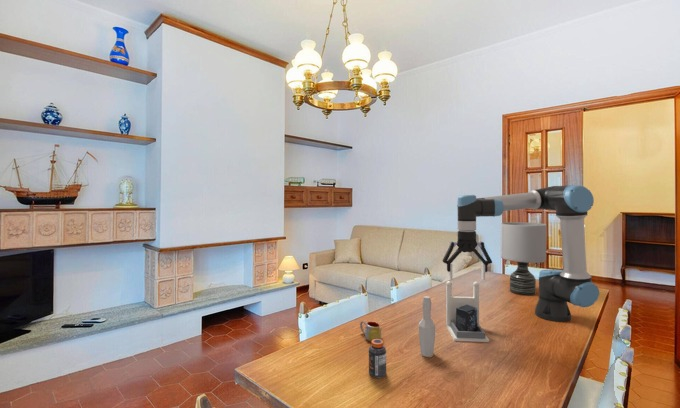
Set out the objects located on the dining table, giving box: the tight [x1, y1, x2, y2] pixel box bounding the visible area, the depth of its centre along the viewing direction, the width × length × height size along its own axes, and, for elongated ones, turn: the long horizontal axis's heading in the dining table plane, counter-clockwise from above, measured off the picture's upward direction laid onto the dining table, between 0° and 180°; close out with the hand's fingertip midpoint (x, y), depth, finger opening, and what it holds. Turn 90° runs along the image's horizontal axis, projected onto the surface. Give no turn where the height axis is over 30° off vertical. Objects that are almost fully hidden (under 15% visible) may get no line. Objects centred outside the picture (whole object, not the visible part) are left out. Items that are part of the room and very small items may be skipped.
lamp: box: [500, 221, 547, 297], centre depth 201 cm, size 24×24×42 cm
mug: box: [359, 320, 383, 342], centre depth 140 cm, size 12×7×7 cm, turn 33°
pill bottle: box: [368, 339, 387, 379], centre depth 111 cm, size 6×6×11 cm
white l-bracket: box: [445, 280, 490, 343], centre depth 142 cm, size 15×16×21 cm
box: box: [456, 305, 477, 332], centre depth 142 cm, size 8×6×11 cm
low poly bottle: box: [418, 295, 436, 358], centre depth 124 cm, size 6×6×22 cm
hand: (466, 279), depth 142 cm, fingers open, 13 cm apart
